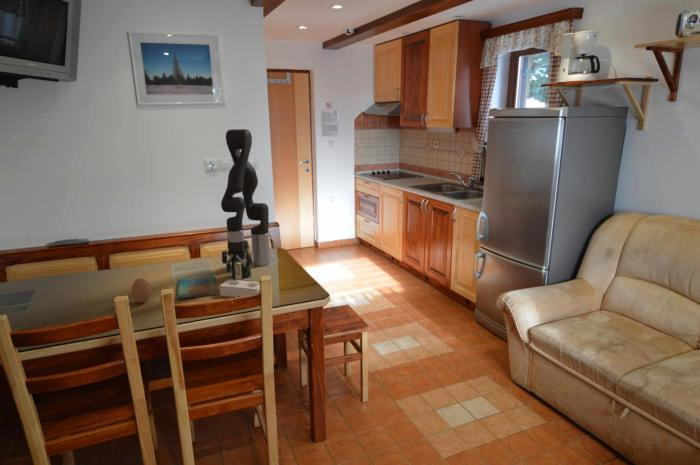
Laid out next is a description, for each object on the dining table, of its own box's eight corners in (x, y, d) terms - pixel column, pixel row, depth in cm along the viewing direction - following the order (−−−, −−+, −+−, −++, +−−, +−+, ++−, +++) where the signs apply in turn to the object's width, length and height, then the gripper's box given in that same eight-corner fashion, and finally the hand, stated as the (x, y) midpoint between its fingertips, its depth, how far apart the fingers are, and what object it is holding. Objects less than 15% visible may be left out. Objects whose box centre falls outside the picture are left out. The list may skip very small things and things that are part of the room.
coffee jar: (251, 273, 221) (249, 238, 217) (250, 278, 214) (248, 242, 209) (232, 274, 220) (229, 239, 215) (230, 279, 212) (227, 243, 207)
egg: (130, 302, 186) (127, 278, 184) (148, 297, 191) (145, 274, 189) (136, 307, 181) (133, 283, 178) (155, 302, 186) (152, 278, 183)
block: (229, 289, 200) (228, 279, 199) (265, 293, 196) (265, 282, 194) (220, 296, 192) (219, 285, 191) (257, 300, 188) (257, 289, 187)
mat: (234, 279, 212) (234, 278, 212) (253, 281, 210) (253, 280, 210) (224, 287, 203) (223, 286, 203) (243, 289, 200) (243, 288, 200)
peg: (237, 282, 208) (236, 262, 205) (243, 282, 207) (241, 262, 205) (234, 284, 205) (233, 264, 203) (240, 284, 204) (238, 264, 202)
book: (215, 279, 214) (215, 274, 214) (217, 297, 193) (217, 291, 192) (178, 283, 209) (177, 278, 208) (176, 302, 187) (175, 296, 187)
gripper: (253, 238, 202) (255, 271, 206) (225, 236, 206) (228, 269, 210) (245, 242, 195) (247, 276, 199) (217, 240, 199) (220, 274, 203)
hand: (237, 272), depth 205 cm, fingers open, 8 cm apart
